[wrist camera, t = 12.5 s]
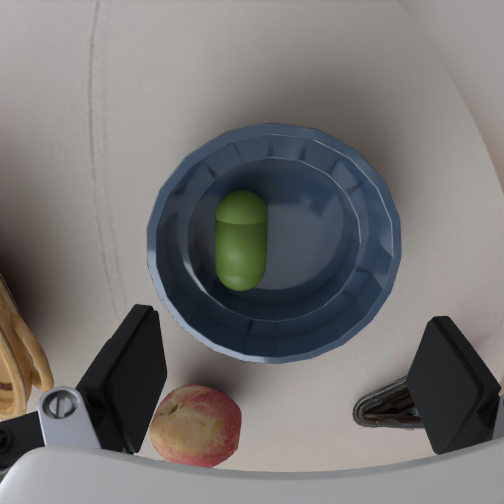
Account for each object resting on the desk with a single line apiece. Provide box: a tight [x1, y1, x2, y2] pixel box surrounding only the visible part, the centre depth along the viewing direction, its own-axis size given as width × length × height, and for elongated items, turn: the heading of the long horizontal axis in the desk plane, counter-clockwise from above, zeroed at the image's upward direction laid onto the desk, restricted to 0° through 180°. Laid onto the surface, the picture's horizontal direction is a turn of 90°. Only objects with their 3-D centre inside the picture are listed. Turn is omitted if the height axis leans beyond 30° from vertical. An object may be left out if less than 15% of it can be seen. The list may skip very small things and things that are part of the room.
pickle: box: [215, 190, 268, 291], centre depth 19 cm, size 6×3×3 cm
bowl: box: [147, 123, 401, 364], centre depth 19 cm, size 14×14×5 cm
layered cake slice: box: [352, 377, 425, 430], centre depth 26 cm, size 10×7×12 cm
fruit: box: [149, 384, 242, 468], centre depth 24 cm, size 8×8×8 cm
